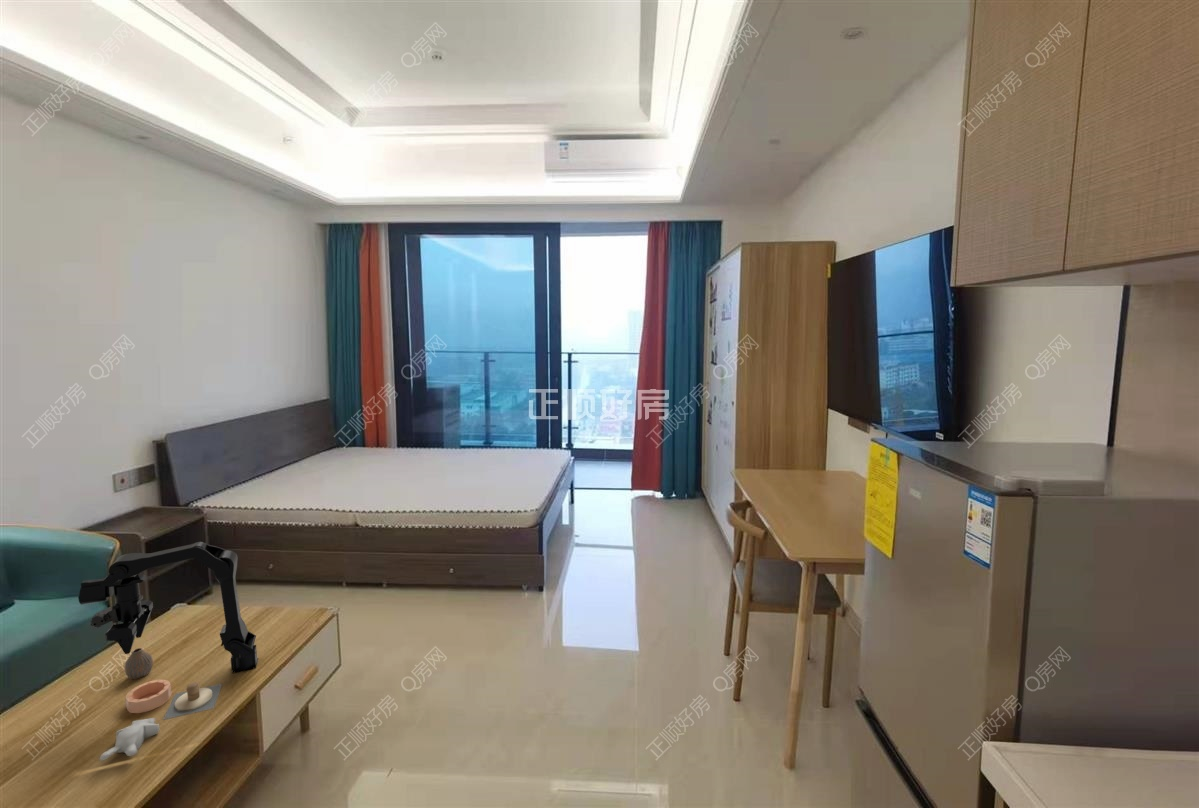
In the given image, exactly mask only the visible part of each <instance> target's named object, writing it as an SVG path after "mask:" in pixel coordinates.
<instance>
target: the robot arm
mask: <svg viewBox="0 0 1199 808" xmlns="http://www.w3.org/2000/svg"><path fill="white" fill-rule="evenodd" d="M238 558H239V557H238V554H237V552H235V551H233V550H229V549H228V550H226V549H225V548H222V547H219V546H215V545H212V544H208V543H206V542H203V541H197V542H194V543H191V544H186V545H182V546H177V547H174V548H168V549H164V550H159V551H155V552H151V553H144V552H133V553H125V554H122V555H120V556H118V557H117V558H116V560H115V561H113V563H112V564H111V565H110V566H109V568H108V574H107V575H106V576H105V578H97V579H84V580H83V581H82V582H81V583H80V588H79V589H80V590H79V592H78V593H79V594H78V597H77V598H78V602H79V604H80V605H88V604H89V605H90V604H94V603H95V604H96V603H102V602H107V601H109V600H110V598H112V597H113V596H114V604H113V605H111V606H109V607H107V608H104V609H102V610H99V611H98V612H96V613H95V614H93V616H92V617H91V618H90V621H89V622H90V626H91V627H94V628H96V629H98V628H100V627H102V626H104V625H106V624H108V623H110V622H112V623H113V624H112V626H110V628H109V629H108V630H107V631H106V632H105V634H104V638H105V641H110V642H112V641H114V642H116V643H117V644H118V645H119V647H120V648H121V650H122V651H123V653H124V654H125V655H128V654H130V653H131V652H132V648H133V645H134V642H135V639H139V638H141V637H142V635H143V633H144V631H145V629H146V625H147V624H148V623H147V622H148V621H149V618H150V615H151V612H152V609H153V608H154V604H153V603H154V602H153V601H152V600H151V599H144V595H142V594H141V591H140V583H144V582H145V580H146V579H147V578H148V575H145V574H143V572H145V571H147V570H149V569H150V570H151V569H153V568H158V567H163V566H166V565H172V564H176V563H180V562H184V561H188V560H193V559H194V560H196V561H198V562H199V563H201V564H202V565H203V566H204V567H206V568H208V569H210V570H212V571H213V575H214V577H215V579H216V580H217V582H218V583H219V585H220V591H221V592H220V593H221V600H222V605H223V614H224V619H225V624H223V626H222V628H221V630H220V632H219V638H220V639H221V644H220V646H221V647H223V648H224V650H225V651H228V652H229V653H230V654H231V655H230V656H231V657H230V667H231V670H232V672H231V673H232V674H237V673H243V672H247V671H252V670H255V669H256V668H257V665H258V662H259V658H258V651H257V644H255V642H256V640H257V639H256V638H257V635H256V634H254V633H252V632H251V631H249V630H248V627H247V625H246V623H245V621H244V619H243V618H242V615H241V609H240V600H239V592H238V586H237V580H236V574H237V569H238V561H239V559H238ZM143 599H144V600H143ZM118 622H120V623H118ZM115 623H118V624H115ZM231 670H230V671H231Z"/></svg>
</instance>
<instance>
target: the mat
mask: <svg viewBox="0 0 1199 808" xmlns="http://www.w3.org/2000/svg"><path fill="white" fill-rule="evenodd" d="M222 686H223V683H219V684H213V685H211V686H206V687H204V688H209V689H211V690H212V695H213V696H212V698H211V700H210V701H209V702H208V703H206V704H205V705H203V706H201V707H199V708H197V709H194V710H190V711H178V710H176V709H175V701H176V700H177V699H178V698H179V697H180V696H181V695H183V694H185V693H187V690H186V691H181V692H178V693H177V692H176V693H175V694H174V695H173V697H172V699H171V702H170V703H169V706H168V708H167V711H166V712H165V715H164V717H163V718H162V719H163V721H165V720H169V719H174V718H177V717H181V716H186V715H190V714H191V715H192V714H196V713H199V712H204V711H208V710H213V709H214V708H215V706H216V703H217V700H218V697H219V694H220V693H221V692H220V691H221V689H222Z"/></svg>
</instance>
